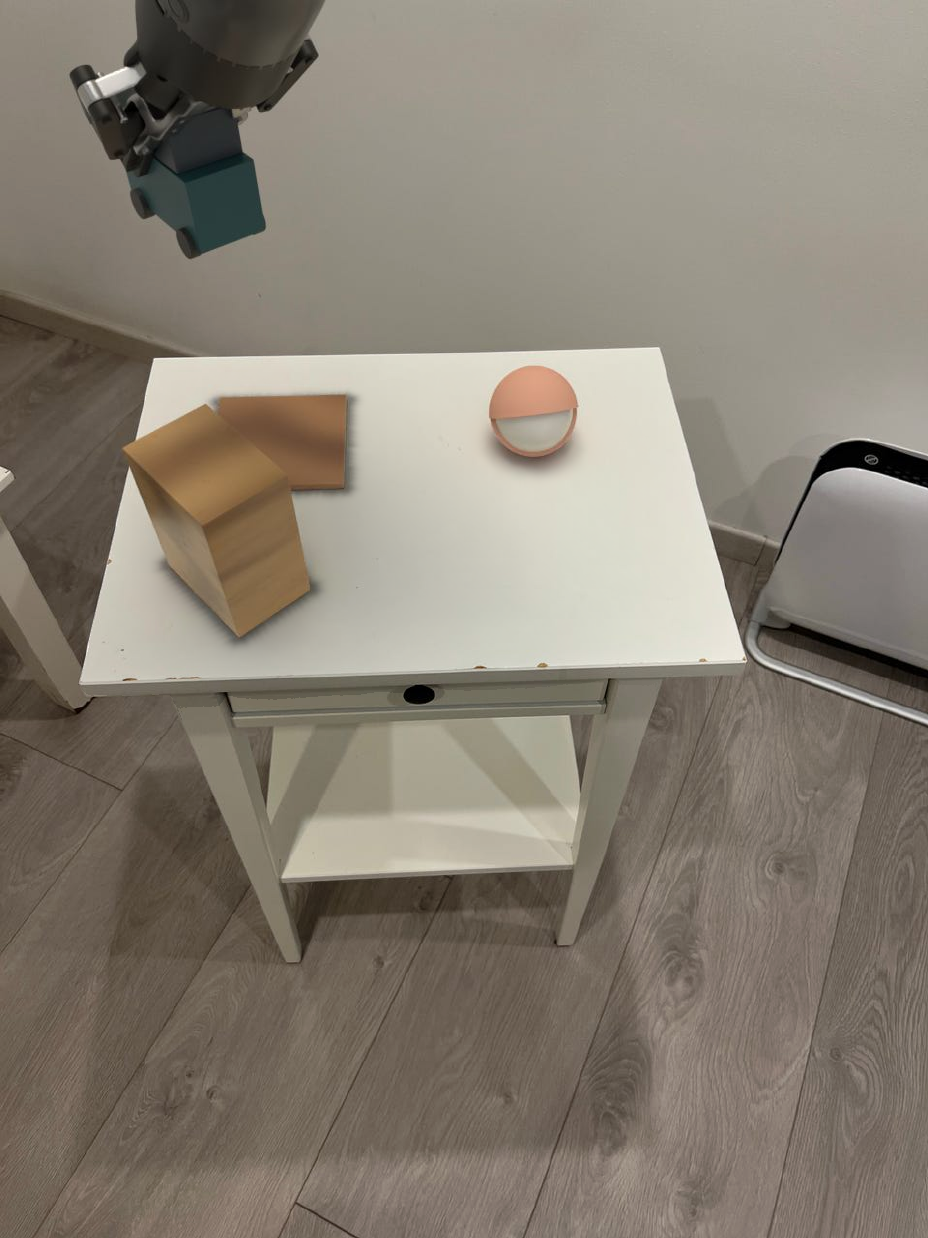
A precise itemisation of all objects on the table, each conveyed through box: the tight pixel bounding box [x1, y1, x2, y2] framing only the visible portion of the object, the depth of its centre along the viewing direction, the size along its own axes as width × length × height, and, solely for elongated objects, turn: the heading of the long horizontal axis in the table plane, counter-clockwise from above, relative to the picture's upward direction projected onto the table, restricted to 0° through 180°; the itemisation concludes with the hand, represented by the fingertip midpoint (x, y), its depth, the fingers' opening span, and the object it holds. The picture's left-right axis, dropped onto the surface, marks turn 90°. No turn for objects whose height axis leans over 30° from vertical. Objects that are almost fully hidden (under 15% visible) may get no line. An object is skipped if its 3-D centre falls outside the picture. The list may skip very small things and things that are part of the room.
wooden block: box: [122, 403, 311, 638], centre depth 66 cm, size 10×7×13 cm
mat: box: [217, 394, 348, 491], centre depth 80 cm, size 12×12×1 cm
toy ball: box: [488, 365, 579, 458], centre depth 78 cm, size 8×8×8 cm
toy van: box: [125, 106, 267, 260], centre depth 54 cm, size 9×5×8 cm, turn 40°
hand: (170, 148), depth 54 cm, fingers closed on toy van, 4 cm apart
